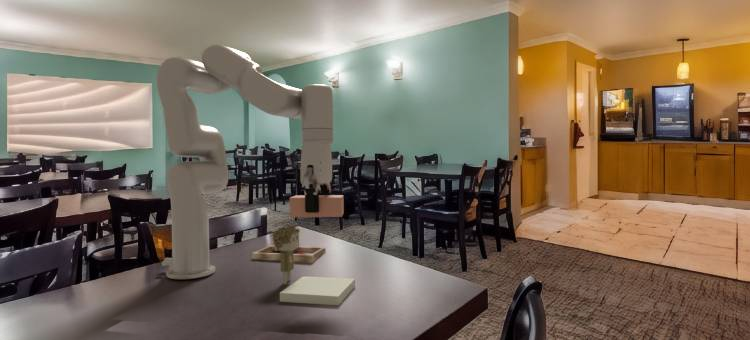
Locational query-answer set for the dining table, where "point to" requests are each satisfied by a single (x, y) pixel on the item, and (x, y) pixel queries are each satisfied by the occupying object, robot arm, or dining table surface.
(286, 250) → the toy
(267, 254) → the car corral
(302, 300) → the plate
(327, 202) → the brick
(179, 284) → the dining table surface
